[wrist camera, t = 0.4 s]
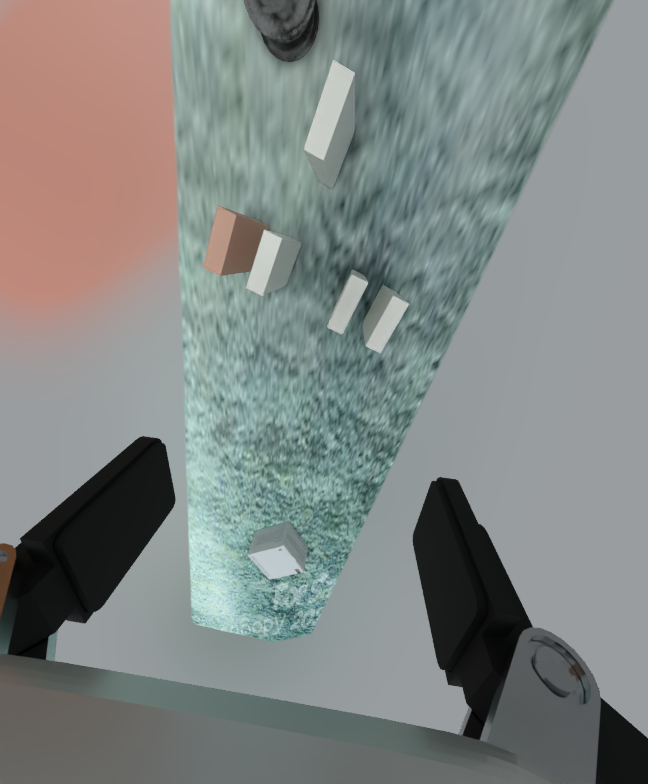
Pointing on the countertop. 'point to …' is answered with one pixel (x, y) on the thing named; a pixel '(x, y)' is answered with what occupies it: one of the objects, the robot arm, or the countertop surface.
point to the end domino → (233, 242)
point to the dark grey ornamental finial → (285, 25)
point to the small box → (278, 551)
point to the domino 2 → (332, 125)
